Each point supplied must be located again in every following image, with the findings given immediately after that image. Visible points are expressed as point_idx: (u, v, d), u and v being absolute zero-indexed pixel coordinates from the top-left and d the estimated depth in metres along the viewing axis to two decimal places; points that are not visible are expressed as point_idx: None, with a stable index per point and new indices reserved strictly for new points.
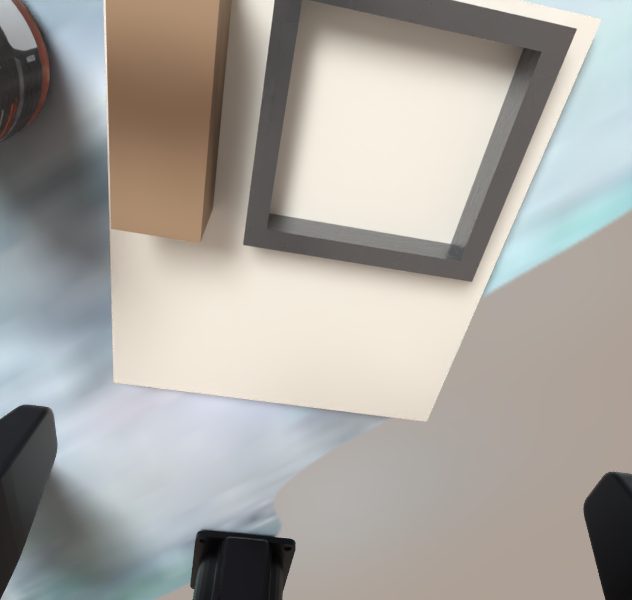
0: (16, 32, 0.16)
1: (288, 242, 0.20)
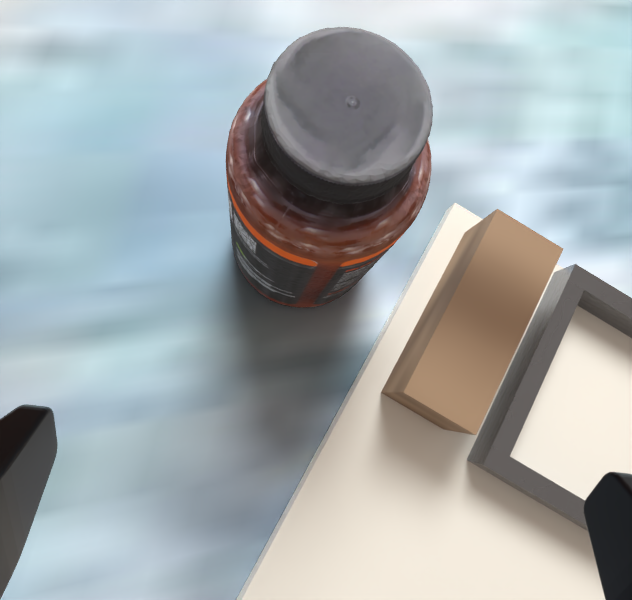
0: None
1: (525, 477, 0.20)
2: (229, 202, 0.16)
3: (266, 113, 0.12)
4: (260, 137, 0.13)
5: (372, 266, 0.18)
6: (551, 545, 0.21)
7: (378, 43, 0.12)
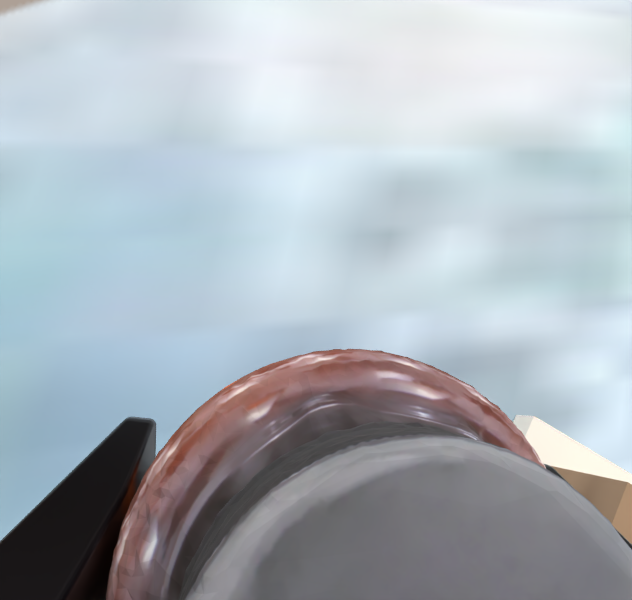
0: None
1: None
2: None
3: None
4: None
5: None
6: None
7: (518, 498, 0.04)
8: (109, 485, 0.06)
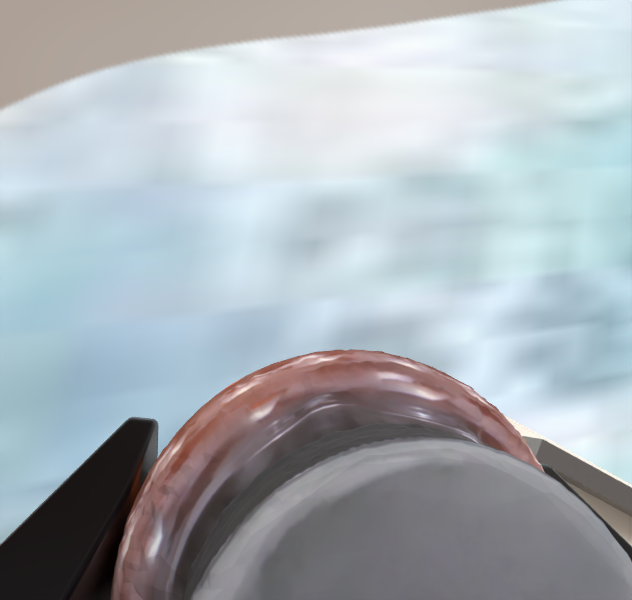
0: None
1: None
2: None
3: None
4: None
5: None
6: None
7: (515, 498, 0.04)
8: (112, 485, 0.06)
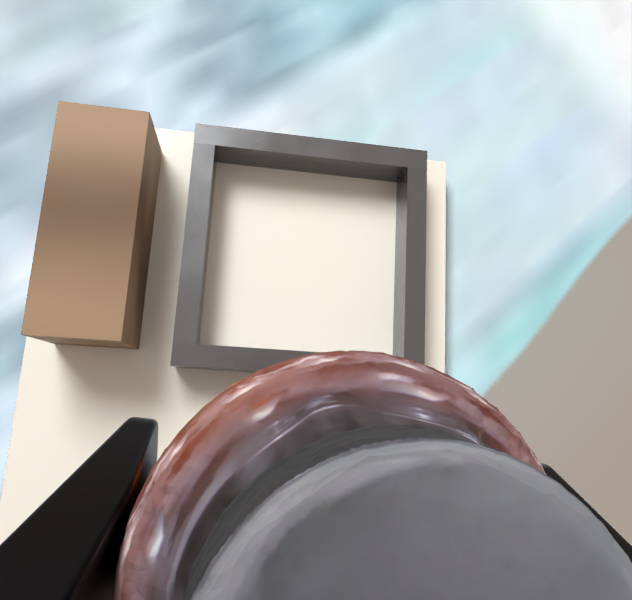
0: None
1: (220, 356, 0.18)
2: None
3: None
4: None
5: None
6: None
7: (514, 499, 0.04)
8: (112, 485, 0.06)
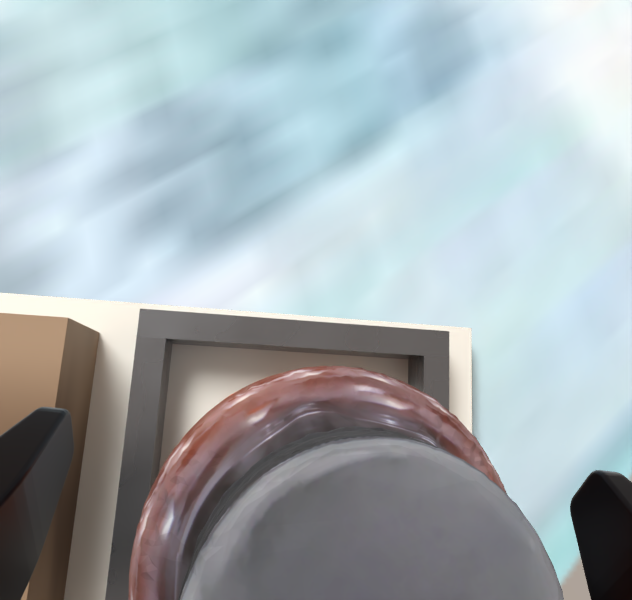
0: None
1: None
2: None
3: None
4: None
5: None
6: None
7: (445, 483, 0.05)
8: (2, 474, 0.06)
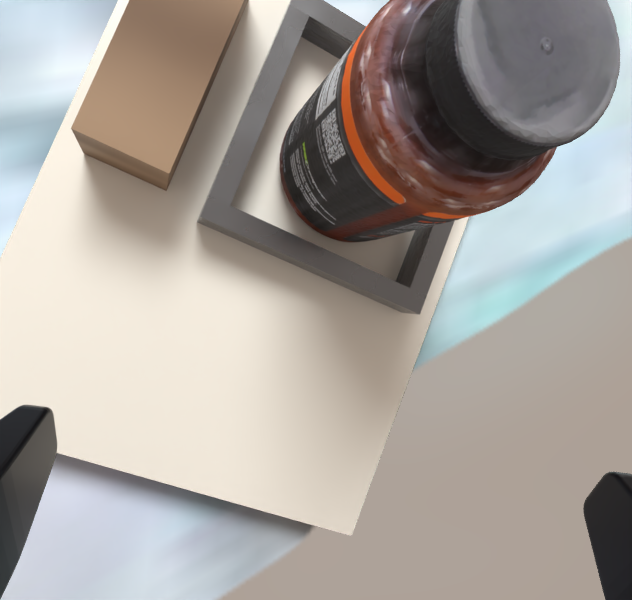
0: None
1: (249, 226, 0.18)
2: (329, 97, 0.14)
3: (457, 15, 0.10)
4: (417, 39, 0.11)
5: None
6: (296, 299, 0.21)
7: None
8: None
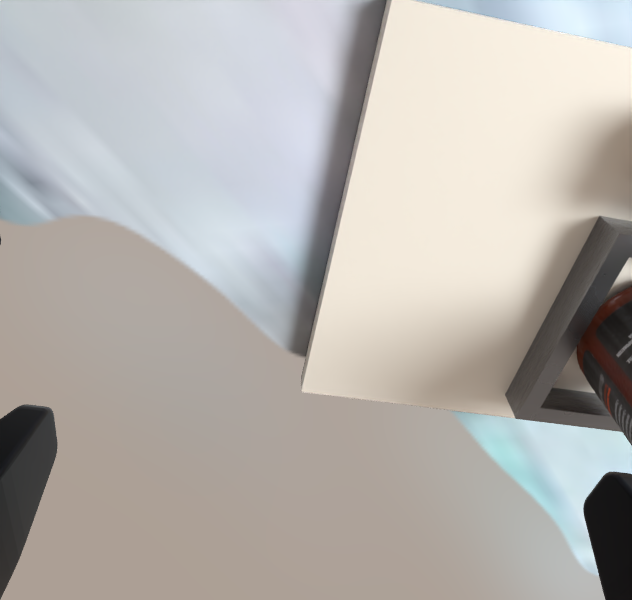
0: None
1: (607, 276, 0.19)
2: None
3: None
4: None
5: None
6: (518, 312, 0.22)
7: None
8: None
